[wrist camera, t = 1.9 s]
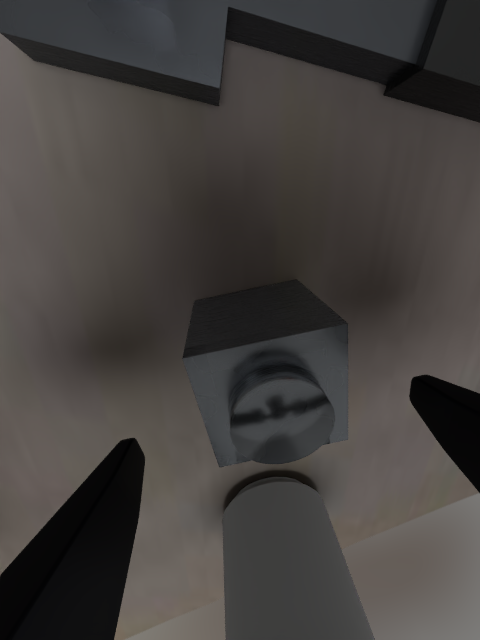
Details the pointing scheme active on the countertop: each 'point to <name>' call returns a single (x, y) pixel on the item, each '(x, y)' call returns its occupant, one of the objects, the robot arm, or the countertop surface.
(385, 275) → the countertop surface
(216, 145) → the countertop surface
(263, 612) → the can
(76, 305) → the countertop surface
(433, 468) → the countertop surface
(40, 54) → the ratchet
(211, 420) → the dark grey block
